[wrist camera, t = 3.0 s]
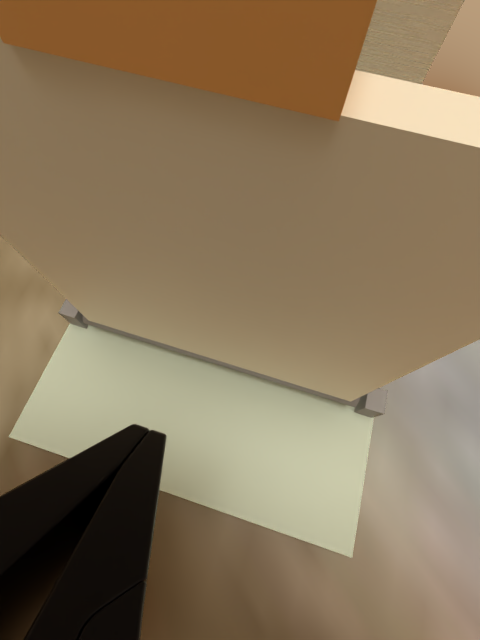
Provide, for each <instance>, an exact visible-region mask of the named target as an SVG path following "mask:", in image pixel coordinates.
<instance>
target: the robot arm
mask: <svg viewBox="0 0 480 640" xmlns="http://www.w3.org/2000/svg"><path fill="white" fill-rule="evenodd" d="M166 438H167V436H166V434H164V433H161V432H158V431H155V430H149V429H148V428H146V427H143V426H140V425H137V424H132V425H130V426H128V427H126V428H124V429H122V430H121V431H119V432H117V433H115V434H113V435H111V436H110V437H108V438H106V439H104V440H102V441H100V442H99V443H97V444H95V445H93V446H91V447H89V448H88V449H86V450H84V451H82V452H80V453H78V454H77V455H75V456H73V457H71V458H69V459H67V460H66V461H64V462H62V463H60V464H58V465H56V466H55V467H53V468H51V469H49V470H47V471H45V472H44V473H42V474H40V475H38V476H36V477H35V478H33V479H31V480H29V481H27V482H25V483H24V484H22V485H20V486H18V487H16V488H14V489H13V490H11V491H9V492H7V493H5V494H3V495H2V496H0V640H140V636H141V627H142V617H143V608H144V600H145V593H146V586H147V584H146V582H147V577H148V569H149V562H150V555H151V547H152V540H153V533H154V526H155V518H156V511H157V504H158V496H159V489H160V482H161V474H162V467H163V460H164V452H165V445H166Z"/></svg>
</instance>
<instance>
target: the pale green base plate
mask: <svg viewBox="0 0 480 640" xmlns="http://www.w3.org/2000/svg"><path fill="white" fill-rule="evenodd" d="M58 313H59V314H60V315H61V316H63V317H64V318H65V319H66V320H67V321H69V322H70V324H69V326H68V328H67V330H66V332H65V333H64V335H63V337H62V339H61V341H60V343H59V345H58V346H57V348H56V350H55V352H54V354H53V356H52V358H51V359H50V361H49V363H48V365H47V367H46V369H45V371H44V372H43V374H42V376H41V378H40V380H39V382H38V383H37V385H36V387H35V389H34V391H33V393H32V395H31V396H30V398H29V400H28V402H27V404H26V406H25V408H24V409H23V411H22V413H21V415H20V417H19V419H18V420H17V422H16V424H15V426H14V428H13V430H12V432H11V433H10V435H9V437H10V438H13V439H16V440H19V441H22V442H24V443H27V444H30V445H33V446H36V447H39V448H42V449H44V450H47V451H50V452H53V453H56V454H59V455H61V456H64V457H67V458H71V457H73V456H75V455H77V454H78V453H80V452H82V451H84V450H86V449H88V448H89V447H91V446H93V445H95V444H97V443H99V442H100V441H102V440H104V439H106V438H108V437H110V436H111V435H113V434H115V433H117V432H119V431H121V430H122V429H124V428H126V427H128V426H130V425H132V424H137V425H140V426H143V427H146V428H148V429H149V430H155V431H158V432H161V433H164V434H166V436H167V438H166V445H165V452H164V460H163V467H162V474H161V482H160V489H159V490H161V491H164V492H167V493H169V494H172V495H175V496H178V497H181V498H184V499H186V500H189V501H192V502H195V503H198V504H201V505H203V506H206V507H209V508H212V509H215V510H218V511H221V512H223V513H226V514H229V515H232V516H235V517H238V518H240V519H243V520H246V521H249V522H252V523H255V524H257V525H260V526H263V527H266V528H269V529H272V530H274V531H277V532H280V533H283V534H286V535H289V536H292V537H294V538H297V539H300V540H303V541H306V542H309V543H311V544H314V545H317V546H320V547H323V548H326V549H328V550H331V551H334V552H337V553H340V554H343V555H346V556H348V557H351V558H352V556H353V549H354V543H355V536H356V530H357V524H358V517H359V511H360V504H361V498H362V491H363V485H364V478H365V472H366V466H367V459H368V453H369V446H370V440H371V433H372V427H373V421H374V417H376V416H379V415H383V414H385V407H386V400H387V393H388V391H387V390H384V389H381V388H378V389H376V390H374V391H372V392H369V393H367V394H365V395H363V396H361V397H360V400H359V402H358V404H357V406H356V407H352V406H348V405H345V404H342V403H339V402H336V401H332V400H329V399H326V398H323V397H319V396H316V395H313V394H310V393H307V392H303V391H300V390H297V389H294V388H291V387H287V386H284V385H281V384H278V383H274V382H271V381H268V380H265V379H262V378H258V377H255V376H252V375H249V374H245V373H242V372H239V371H236V370H233V369H229V368H226V367H223V366H220V365H217V364H213V363H210V362H207V361H204V360H200V359H197V358H194V357H191V356H188V355H184V354H181V353H178V352H175V351H171V350H168V349H165V348H162V347H159V346H155V345H152V344H149V343H146V342H143V341H139V340H136V339H133V338H130V337H126V336H123V335H120V334H117V333H114V332H110V331H107V330H104V329H101V328H97V327H94V326H91V325H88V324H85V323H84V322H83V319H82V317H83V315H82V314H81V313H80V312H79V311H78V310H77V309H76V308H75V307H74V306H73V305H72V304H71V303H70V302H69V301H68V300H67V299H66V300H65V302H64V303H63V305H62V307H61V309H60V311H59V312H58Z"/></svg>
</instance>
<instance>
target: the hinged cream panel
mask: <svg viewBox="0 0 480 640" xmlns="http://www.w3.org/2000/svg"><path fill="white" fill-rule="evenodd" d="M376 3H377V0H0V235H1V236H2V237H3V238H4V239H5V240H6V241H7V242H8V243H9V244H10V245H11V246H12V247H13V248H14V249H15V250H16V251H17V252H18V253H19V254H20V255H22V256H23V257H24V258H25V259H26V260H27V261H28V262H29V263H30V264H31V265H32V266H33V267H34V268H35V269H36V270H37V271H38V272H39V273H40V274H41V275H42V276H43V277H44V278H45V279H46V280H47V281H48V282H49V283H50V284H51V285H52V286H53V287H54V288H56V289H57V290H58V291H59V292H60V293H61V294H62V295H63V296H64V297H65V298H66V299H67V300H68V301H69V302H70V303H71V304H72V305H73V306H74V307H75V308H76V309H77V310H78V311H79V312H80V313H81V314H82V315H83V317H82V319H83V322H84V323H85V324H88V325H91V326H94V327H97V328H101V329H104V330H107V331H110V332H114V333H117V334H120V335H123V336H126V337H130V338H133V339H136V340H139V341H143V342H146V343H149V344H152V345H155V346H159V347H162V348H165V349H168V350H171V351H175V352H178V353H181V354H184V355H188V356H191V357H194V358H197V359H200V360H204V361H207V362H210V363H213V364H217V365H220V366H223V367H226V368H229V369H233V370H236V371H239V372H242V373H245V374H249V375H252V376H255V377H258V378H262V379H265V380H268V381H271V382H274V383H278V384H281V385H284V386H287V387H291V388H294V389H297V390H300V391H303V392H307V393H310V394H313V395H316V396H319V397H323V398H326V399H329V400H332V401H336V402H339V403H342V404H345V405H348V406H352V407H356V406H357V404H358V402H359V400H360V397H361V396H363V395H365V394H367V393H369V392H372V391H374V390H376V389H378V388H380V387H382V386H384V385H386V384H388V383H390V382H392V381H394V380H396V379H398V378H400V377H402V376H405V375H407V374H409V373H411V372H413V371H415V370H417V369H419V368H421V367H423V366H425V365H427V364H429V363H431V362H433V361H435V360H438V359H440V358H442V357H444V356H446V355H448V354H450V353H452V352H454V351H456V350H458V349H460V348H462V347H464V346H466V345H468V344H471V343H473V342H475V341H477V340H479V339H480V97H476V96H472V95H468V94H463V93H458V92H454V91H449V90H445V89H440V88H436V87H431V86H426V85H422V84H417V83H413V82H408V81H404V80H399V79H395V78H390V77H385V76H381V75H376V74H372V73H367V72H363V71H358V70H355V69H356V66H357V62H358V59H359V56H360V53H361V50H362V47H363V44H364V40H365V37H366V34H367V31H368V28H369V25H370V22H371V18H372V15H373V12H374V9H375V6H376Z"/></svg>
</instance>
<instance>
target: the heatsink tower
mask: <svg viewBox="0 0 480 640" xmlns="http://www.w3.org/2000/svg"><path fill="white" fill-rule="evenodd" d="M463 2H464V0H377V3H376V6H375V9H374V12H373V15H372V18H371V22H370V25H369V28H368V31H367V34H366V37H365V40H364V44H363V47H362V50H361V53H360V56H359V59H358V62H357V66H356V69H355V70H358V71H363V72H367V73H372V74H376V75H381V76H385V77H390V78H395V79H399V80H404V81H408V82H413V83H417V84H422V83H423V81H424V79H425V77H426V75H427V73H428V71H429V69H430V67H431V66H432V63H433V62H434V59H435V57H436V56H437V54H438V52H439V50H440V48H441V46H442V44H443V42H444V40H445V38H446V36H447V34H448V32H449V30H450V28H451V26H452V24H453V22H454V20H455V18H456V16H457V14H458V12H459V10H460V8H461V6H462V4H463Z"/></svg>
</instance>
